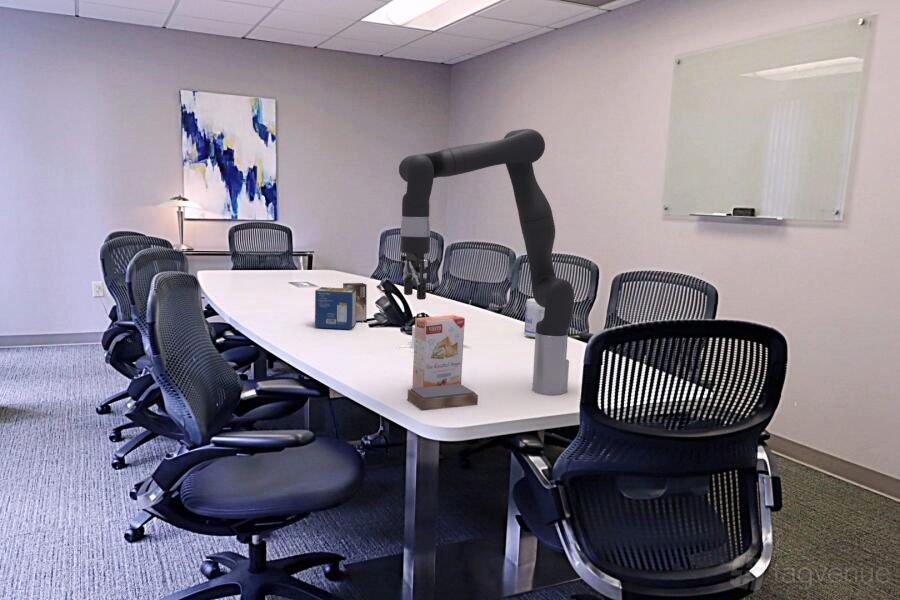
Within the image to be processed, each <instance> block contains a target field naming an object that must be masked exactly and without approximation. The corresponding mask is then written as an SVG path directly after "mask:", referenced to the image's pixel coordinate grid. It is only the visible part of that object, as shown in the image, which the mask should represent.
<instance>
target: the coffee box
mask: <svg viewBox="0 0 900 600" xmlns="http://www.w3.org/2000/svg"><path fill="white" fill-rule="evenodd" d="M367 287H368V286H367V284H366V283H364V282H342V288H353V289H356V322H358V321H367V315H368V314H367V298H368V297H367V294H368V292H367V290H368V289H367Z"/></svg>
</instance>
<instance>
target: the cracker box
mask: <svg viewBox="0 0 900 600" xmlns="http://www.w3.org/2000/svg"><path fill="white" fill-rule="evenodd" d="M465 320H466V319H465V317H463V316H459V315H454V314H448V315H437V316H426V317H415V319H414V325H415V337H414V351H413V352H414V353H413V360H412V361H413V362H412V363H413V365H412V366H413V367H412V388H421V387H431V386H442V385H453V384H461V385H462V375H463V374H462V373H463V360H464V359H463V357H464V354H463V353H464V342H465V341H464V339H465V338H464V337H465Z"/></svg>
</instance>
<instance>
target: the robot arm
mask: <svg viewBox="0 0 900 600" xmlns="http://www.w3.org/2000/svg"><path fill="white" fill-rule="evenodd" d="M545 150H546V142H545V139H544V137H543V135H542V133H540V132H538V131H537V130H535V129H532V128H523V129H517V130H516V129H515V130H511V131H508V132H507V133H506V134H505V135H504V137H503V138H501V139H498V140H494V141H489V142H479V143H471V144H464V145H458V146H453V147H448V148H445V149H441V150H437V151H434V152H426V153H419V154H413V155H409V156H407V157H404V158H403V159H402V160H401V161H400V163H399V166H398V174H399V176H400V178H402V179H401V180H403V181H405V182H406V183H407V184H406V192H405V193H404V195H403V196H402V199H401V201H402V202H401V221H400V253H402V254H403V255H400V265H399V267H400V269H399V270H400V271H399V275H400V276H399V277H400V278H402V280H403V294H404V295H406V296H411V295H413V292H414V290H413V288H414V286H413V285H414V283H413V282H414V281H413V279H415V281H416V299H417V300H422V301H423V300H426V298H427V285H428V284H430V283H431V279H432V278H431V259H429V258H428V259H427V258H426V259H425V255H426V254H429V253H430V251H431V244H430V243H431V222H430V200H431V199H430V198H431V194H432V190H433V184H434V179H436V178H445V177H452V176H453V177H454V176H457V175H458V176H459V175H463V174H466V173H471V172H474V171H478V170H482V169H486V168H490V167H495V166H501V165H505V166H506V167H505V168H506V170H507V172H508V175H509V179H510V181H511V182H510V183H511V185H512V189H513V194H514V201H515V204H516V207H517V214H518V219H519V224H520V228H521V233H522V236H523V241H524V245H525V251H526V256H527V260H528V264H529V272H530V273H529V274H530V281H531V282H530V283H531V290H532V295H533V299H535V301H536V303H537V304H538V305H540V306H541V307H544V308H545V311H544V318H543V320H542V321H539V322H537V324H536V334H535V337H534V338H535V339H534V353H533V354H534V355H533V356H534V357H533V369H532V370H533V373H532V374H533V375H532V392H533V393H535V394H539V395H543V396H544V395H545V396H560V395H563V394H565V393H567V392H568V383H569V371H570V370H569V369H570V360H569V359H567V353H568V335H569V329H570V327H571V325H572V319H573V313H574V312H573V311H574V305H575V303H574V302H575V293H574V287H573V285H572V284H571V282H570V281H568V280H566V279H563V278H559V277H557V275H556V273H555V267H554V264H553V257H552V256H553V248H554V244H555V238H556V226H555V219H554V216H553V211H552V208H551V204H550V203H549V201H548V199H547V197H546V195H545V193H544V192H543V190H542V189H541V187H540V185H539V184H538V181H537V179H536V174H535V172H534V166H533V163H535V162H537V161H538V160H540V159H541V157H543V154H544V153H545Z"/></svg>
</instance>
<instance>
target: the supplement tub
mask: <svg viewBox="0 0 900 600" xmlns="http://www.w3.org/2000/svg"><path fill="white" fill-rule="evenodd" d="M525 303H526V304H525V314H524V317H525V318H524V331H523V332H524V335H525V336H527V337H532V338H535V334H536V324H537V322H539V321H542V320H543V318H544V311H545V308H544V307H541V306H540V305H538V304H537V303H536V301H535V299H534V298H528V299H526V302H525Z"/></svg>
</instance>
